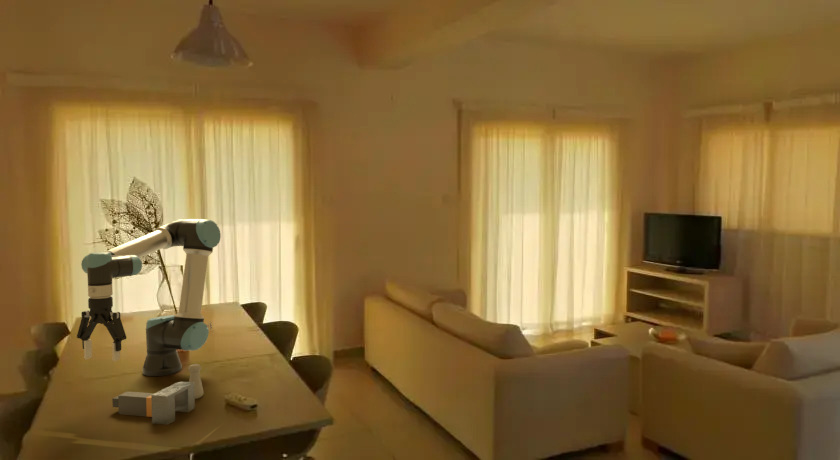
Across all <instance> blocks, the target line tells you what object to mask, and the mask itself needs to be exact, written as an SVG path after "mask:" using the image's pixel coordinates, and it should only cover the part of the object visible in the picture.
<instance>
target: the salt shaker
mask: <svg viewBox="0 0 840 460" xmlns="http://www.w3.org/2000/svg"><path fill="white" fill-rule="evenodd" d="M201 369H202V366H201V365H200V364H199V363H193V364H190V365H188V372H189V373H190V374H189V378H188V379H189V380H188V382H193V383H194V393H195V400H196V399H197V400H198V399H200V398H202V397H203V396H204V388H203V383H202V377H201V373H200V372H201Z"/></svg>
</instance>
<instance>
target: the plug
mask: <svg viewBox="0 0 840 460" xmlns="http://www.w3.org/2000/svg"><path fill="white" fill-rule="evenodd" d="M152 394H154V393H150V392H142V391H139V392H138V391H127V390H126V391H125V392H123V393H121V394H119V395H117V396H115V397H112V400H111V401H112V408H118V414H119V415H127V416H139V417H151V418H152V399H151V395H152Z"/></svg>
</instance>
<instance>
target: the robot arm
mask: <svg viewBox="0 0 840 460" xmlns="http://www.w3.org/2000/svg"><path fill="white" fill-rule="evenodd" d="M221 236H222V235H221V230H220V228H219V226H218V224H217V222H215V221H213V220H211V219H205V218H180V219H176V220H174V221H170V222H168V223H166V224H163V225H161V226H158V227H156V228H155V229H154V230H153V231H152V232H149V233H147V234H145V235H142V236H139V237H137V238H135V239H133V240H130V241H128V242H125V243H123V244H121V245H118V246H115V247H113V248H110V249H108V250H106V251H101V252H100V251H99V252H90V253H88V254H87V255H85V256H84V257H83V258H82V260H81V262H80V263H81V264H80V265H81V269H82V270H83V272H84V273H86V275H87V292H88V293H87V296H88V300H87V304H88V306H87V308H88V309H89V310H85V311H84V310H83V311H81V319H80V323H79V327H78V331H77V334H76V339H80V340H81V341H82V342H81V343H82V350H83V357H84V360H88V359H91V358H93V350H92V349H93V346H92V344H93V343H92V339H91V335H92V334H93V332H94V331H95V328H96V327H97V325H98V324H100V325H103V326H104V327H105V328H106V329H107V331H108V333H109V334H110V336H111V338H112V340H113V341H112V342H111V344H112V345H111V347H112V348H111V350H112V352H111V353H112V362H116V361H119V360H121V351H122V341H125V340H126V339H127V335H126V332H125V328H124V325H123V323H122V319H121V312H120V311H117V312H113V310H112V308H113V304H114V302H113V301H114V300H113V279H115V278H122V277H123V278H124V277H132V276H136V275H139V273H140V272H142V269H143V268H142V267H143V263H142V260H141V258H143V257H146V256H148V255H150V254H153V253H154V252H157V251H159V250H162V249H163V250H167V249H169V248H173V247H182V249H183V252H184V253H185V261H184V269H183V278H182V285H181V293H180V299H179V308H178V312H177V313H176V314H172V315H170V314H169V315H162V316H156V317H151V318H149V319H148V320H147V321H146V324H145V326H146V328H145V336H146V338H145V339H146V342H145V343H146V355H145V356H146V357H145V360H144V361H143V362H144V364H143V366H142V375H144V376H147V377H148V376H149V377H163V376H169V375H174V374H176V373H178V372H180V371H181V370H182V368H183V366H182V365H183V364H182V362H181V359H180V355H179V353H178V350H182V351H185V352H186V351H197V350H199V349H201V348H202V347H203V346H204V345H205V344H206V342H207V340H208V338H209V332H210V330H209V329H208V324H206V323H205V317H204V316H203V315H202V307H203V299H204V291H205V290H204V289H205V282H206V276H207V268H208V260H209V256H210V255H212V254H213V250H214V248H215V247H217V246H218V244H219V243H220V242H221Z"/></svg>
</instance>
